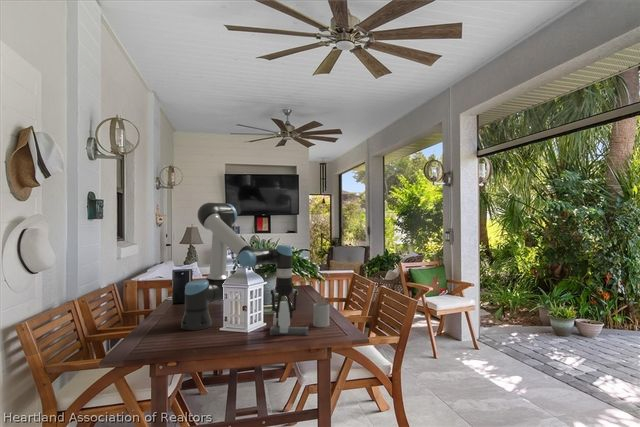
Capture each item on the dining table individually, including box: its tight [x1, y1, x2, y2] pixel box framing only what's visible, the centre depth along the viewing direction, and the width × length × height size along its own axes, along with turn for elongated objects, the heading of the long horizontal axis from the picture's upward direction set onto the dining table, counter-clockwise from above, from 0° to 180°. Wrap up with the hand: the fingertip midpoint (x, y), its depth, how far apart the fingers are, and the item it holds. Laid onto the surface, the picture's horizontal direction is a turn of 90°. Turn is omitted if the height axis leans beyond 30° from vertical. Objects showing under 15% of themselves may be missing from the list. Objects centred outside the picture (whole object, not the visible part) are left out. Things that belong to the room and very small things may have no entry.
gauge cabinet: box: [272, 312, 280, 327], centre depth 195 cm, size 7×6×7 cm
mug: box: [312, 302, 330, 328], centre depth 204 cm, size 12×8×11 cm
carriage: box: [280, 301, 290, 333], centre depth 186 cm, size 4×4×14 cm
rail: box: [269, 325, 309, 336], centre depth 186 cm, size 18×4×3 cm, turn 92°
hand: (284, 324), depth 186 cm, fingers closed on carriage, 4 cm apart
